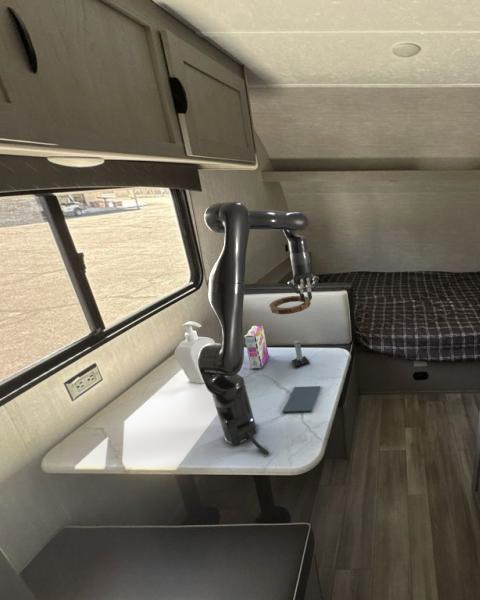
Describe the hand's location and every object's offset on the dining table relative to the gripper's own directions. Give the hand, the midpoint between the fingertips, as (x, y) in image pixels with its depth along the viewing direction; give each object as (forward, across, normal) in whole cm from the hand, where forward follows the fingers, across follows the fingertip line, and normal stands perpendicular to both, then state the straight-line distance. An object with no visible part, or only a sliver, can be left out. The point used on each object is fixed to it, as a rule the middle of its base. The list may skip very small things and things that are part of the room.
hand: (306, 300), depth 134 cm
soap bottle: (+29, -44, +14) cm, 55 cm away
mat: (+29, -14, -26) cm, 41 cm away
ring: (+1, -7, 0) cm, 7 cm away
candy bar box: (+29, -22, +12) cm, 38 cm away
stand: (+29, -7, 0) cm, 30 cm away
